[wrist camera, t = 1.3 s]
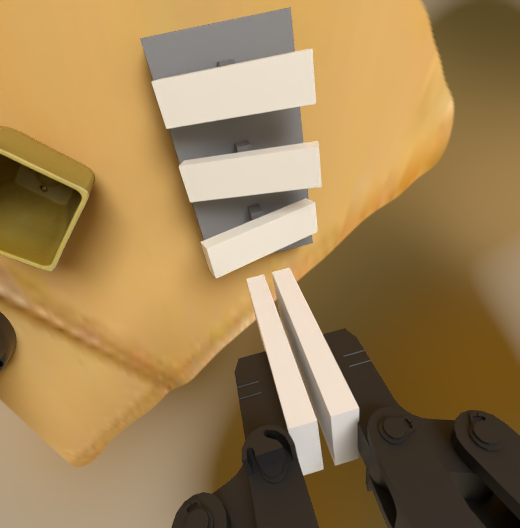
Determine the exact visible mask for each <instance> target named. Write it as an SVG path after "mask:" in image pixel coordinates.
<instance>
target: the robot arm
mask: <svg viewBox="0 0 520 528" xmlns="http://www.w3.org/2000/svg"><path fill="white" fill-rule="evenodd" d="M272 275H273V280H274V285H275V290H276V296H277V301H278V306H279V311H280V316H281V320H282V323H283V326H284V328H285V331H286V334H287V336H288V339H289V342H290V345H291V347H292V350H293V353H294V355H295V358H296V361H297V364H298V366H299V369H300V372H301V375H302V377H303V380H304V383H305V385H306V388H307V391H308V393H309V396H310V399H311V401H312V404H313V407H314V410H315V412H316V415H317V418H318V421H319V423H320V426H321V429H322V431H323V434H324V437H325V440H326V442H327V445H328V448H329V450H330V453H331V456H332V459H333V461H334V464H335V465H339V464H342V463H345V462H348V461H352V460H355V459H358V458H359V452H360V454H361V457H362V459H363V461H364V463H365V466H366V485H367V491H371V489H372V491H373V493H374V496H375V498H376V501H377V503H378V506H379V508H380V510H381V513H382V515H383V518H384V520H385V523H386V525H387V527H388V528H520V436H519V435H518V434H517V433H516V432H515V431H514V430H512V429H511V428H510V427H509V426H508V425H507V424H505V423H504V422H503V421H501V420H500V419H498V418H497V417H495V416H494V415H492V414H489V413H486V412H483V411H476V410H469V411H466V412H463V413H461V414H460V415H459V416H458V417H457V418H456V420H438V419H426V418H420V417H418V416H415V415H412V414H411V413H409V412H407V411H406V410H404V409H403V408H402V407H401V406H400V405H399V404H398V403H397V402H396V400H395V399H394V398H393V396H392V394H391V393H390V391H389V390H388V388H387V386H386V385H385V383H384V381H383V380H382V378H381V376H380V375H379V373H378V372H377V370H376V368H375V367H374V365H373V364H372V362H371V361H370V358H369V357H368V356H367V354H366V352H365V351H364V349H363V347H362V345H361V344H360V342H359V341H358V339H357V337H355V336H354V335H352V334H351V333H350V332H348V331H347V330H346V329H341V330H337V331H334V332H330V333H326V334H322V332H321V330H320V328H319V326H318V324H317V323H316V320H315V318H314V317H313V314H312V312H311V310H310V308H309V306H308V304H307V302H306V300H305V298H304V296H303V294H302V292H301V290H300V288H299V286H298V284H297V282H296V280H295V278H294V276H293V274H292V272H291V270H290V268H286V269H283V270H279V271H275V272H272ZM246 280H247V284H248V288H249V292H250V296H251V300H252V304H253V308H254V312H255V316H256V320H257V324H258V327H259V331H260V335H261V338H262V342H263V346H264V349H265V352H261V353H258V354H254V355H250V356H247V357H243V358H240V359H238V363H237V367H236V370H235V377H236V383H237V390H238V396H239V402H240V409H241V415H242V421H243V428H244V433H245V440H246V441H245V443H244V446H243V448H242V462H243V465H242V468H241V469H240V470H239V472H238V473H237V475H236V476H235V477H233V478H232V479H231V480H230V481H229V482H228V483H226V484H225V485H223V487H221V488H220V489H218V490H217V491H216V492H214V493H213V494H210V493H204V492H203V493H200V494H196V495H193V496H192V497H191V498H189V499H188V500H187V501H185V502H184V503H183V505H182V506H181V507H180V509H179V510H178V512H177V513H176V516H175V519H174V522H173V525H172V528H319V526H318V523H317V519H316V516H315V513H314V509H313V506H312V503H311V500H310V496H309V493H308V490H307V486H306V483H305V480H304V477H303V475H306V474H310V473H313V472H316V471H319V470H322V469H323V461H322V454H321V447H320V439H319V432H318V424H317V419H316V416H315V414H314V411H313V408H312V405H311V403H310V400H309V397H308V395H307V392H306V389H305V386H304V383H303V381H302V378H301V375H300V373H299V370H298V367H297V364H296V362H295V359H294V356H293V354H292V351H291V348H290V345H289V343H288V340H287V337H286V334H285V332H284V329H283V326H282V324H281V320H280V318H279V315H278V312H277V309H276V307H275V304H274V301H273V298H272V296H271V293H270V290H269V287H268V285H267V282H266V279H265V277H264V275H260V276H256V277H252V278H248V279H246ZM15 348H16V334H15V331H14V328H13V326H12V325H11V323H10V322H9V320H8V319H7V318H6V317H5V316H4V315H3V314H2V313H1V312H0V372H1V371H2V370H3V368H4V367H5V366H6V365H7V363H8V361H9V359H10V358H11V356H12V354H13V353H14V350H15Z"/></svg>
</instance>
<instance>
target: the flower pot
mask: <svg viewBox="0 0 520 528" xmlns="http://www.w3.org/2000/svg"><path fill="white" fill-rule="evenodd" d="M94 181H95V175H94V173H93V171H92V170H91V169H90V168H88V167H87V166H85V165H83V164H81V163H79V162H77V161H75V160H73V159H71V158H69V157H67V156H66V155H64V154H62V153H60V152H58V151H56V150H54V149H52V148H50V147H48V146H46V145H44V144H42V143H41V142H39V141H37V140H35V139H33V138H31V137H29V136H27V135H26V134H24V133H22V132H19V131H17V130H14V129H12V128H8V127H4V126H0V254H1V255H3V256H6V257H9V258H12V259H15V260H17V261H20V262H22V263H25V264H28V265H31V266H34V267H36V268H39V269H42V270H46V271H49V272H51V271H53V270H54V269H55V268H56V266H57V264H58V261H59V259H60V257H61V254H62V252H63V250H64V248H65V246H66V244H67V241H68V239H69V237H70V235H71V233H72V231H73V229H74V227H75V225H76V223H77V221H78V219H79V217H80V215H81V213H82V211H83V209H84V207H85V205H86V203H87V201H88V198H89V196H90V193H91V190H92V188H93V184H94ZM66 185H67V186H66ZM41 186H46V187H47V190H46V191H44V190H42V189H41Z"/></svg>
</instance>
